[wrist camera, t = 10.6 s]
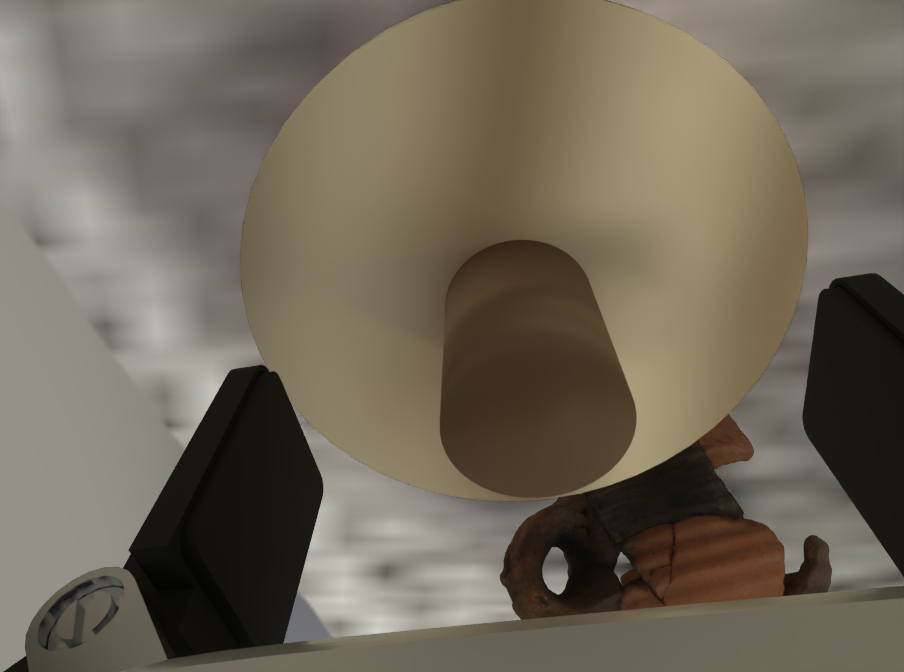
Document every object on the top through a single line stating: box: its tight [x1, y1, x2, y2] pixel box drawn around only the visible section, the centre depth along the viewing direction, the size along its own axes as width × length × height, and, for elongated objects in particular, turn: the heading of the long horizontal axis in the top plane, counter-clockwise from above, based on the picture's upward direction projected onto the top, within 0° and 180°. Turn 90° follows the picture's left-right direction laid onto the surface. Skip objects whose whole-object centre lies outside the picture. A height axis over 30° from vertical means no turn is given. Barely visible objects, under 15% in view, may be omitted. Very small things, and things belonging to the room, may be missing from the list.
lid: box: [240, 0, 808, 501], centre depth 12 cm, size 12×12×5 cm
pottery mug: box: [500, 414, 832, 620], centre depth 23 cm, size 12×9×8 cm
